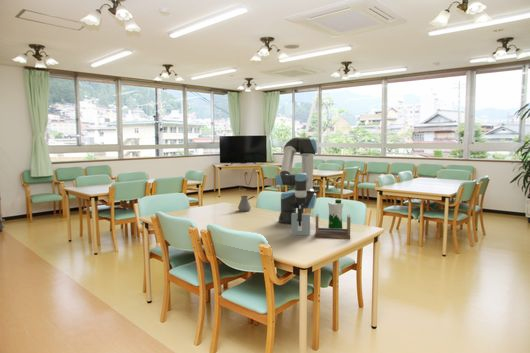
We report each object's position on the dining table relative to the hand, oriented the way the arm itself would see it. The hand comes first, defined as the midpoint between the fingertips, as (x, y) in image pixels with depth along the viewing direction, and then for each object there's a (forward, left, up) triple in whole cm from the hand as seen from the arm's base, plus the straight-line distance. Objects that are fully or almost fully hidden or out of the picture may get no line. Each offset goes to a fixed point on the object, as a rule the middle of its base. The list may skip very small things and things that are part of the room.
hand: (300, 227), depth 243 cm
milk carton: (-20, +23, -5) cm, 31 cm away
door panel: (0, 0, -4) cm, 4 cm away
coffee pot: (-65, -51, -5) cm, 83 cm away
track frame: (0, +21, -4) cm, 21 cm away
